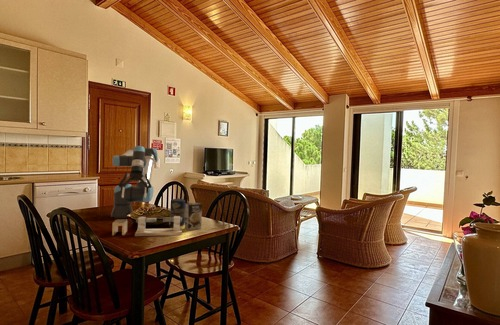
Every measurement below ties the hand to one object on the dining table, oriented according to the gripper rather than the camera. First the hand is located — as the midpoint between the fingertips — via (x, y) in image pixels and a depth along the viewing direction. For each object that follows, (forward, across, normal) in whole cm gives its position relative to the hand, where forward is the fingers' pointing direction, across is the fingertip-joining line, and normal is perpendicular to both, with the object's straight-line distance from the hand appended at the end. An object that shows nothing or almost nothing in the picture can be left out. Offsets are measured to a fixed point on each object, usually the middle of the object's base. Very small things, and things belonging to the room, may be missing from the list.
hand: (133, 197), depth 190 cm
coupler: (+24, -5, -4) cm, 25 cm away
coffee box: (+20, +38, 0) cm, 43 cm away
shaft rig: (+25, +18, -7) cm, 31 cm away
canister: (+15, +28, +10) cm, 33 cm away
